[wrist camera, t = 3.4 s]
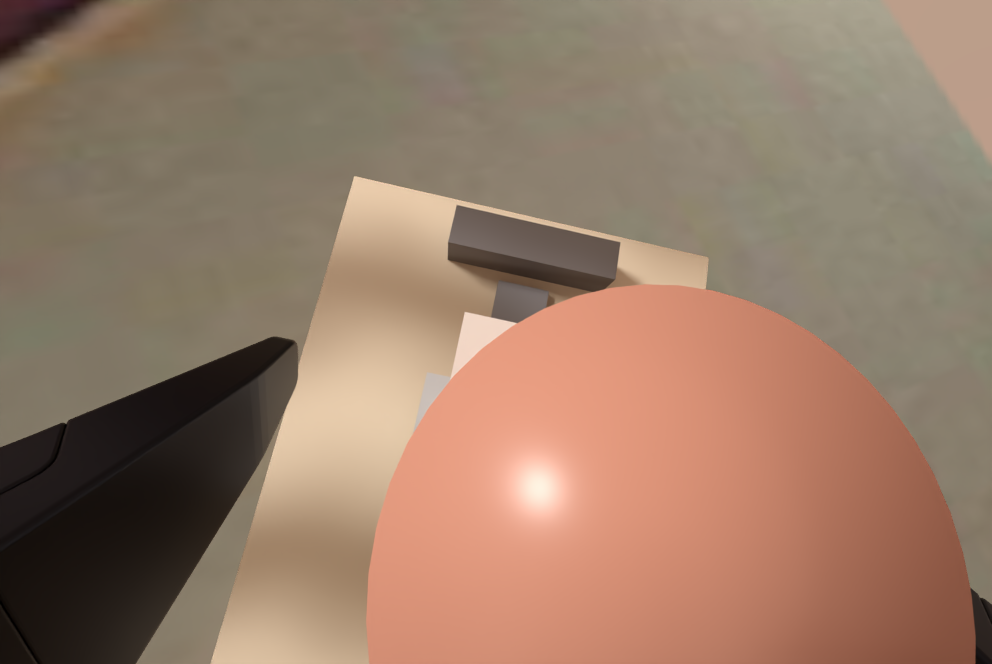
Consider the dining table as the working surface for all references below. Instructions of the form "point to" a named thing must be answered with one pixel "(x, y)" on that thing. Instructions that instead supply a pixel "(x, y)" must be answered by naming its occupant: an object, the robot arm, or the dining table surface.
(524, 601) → the slider lever
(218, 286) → the dining table surface
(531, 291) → the slider console
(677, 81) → the dining table surface
